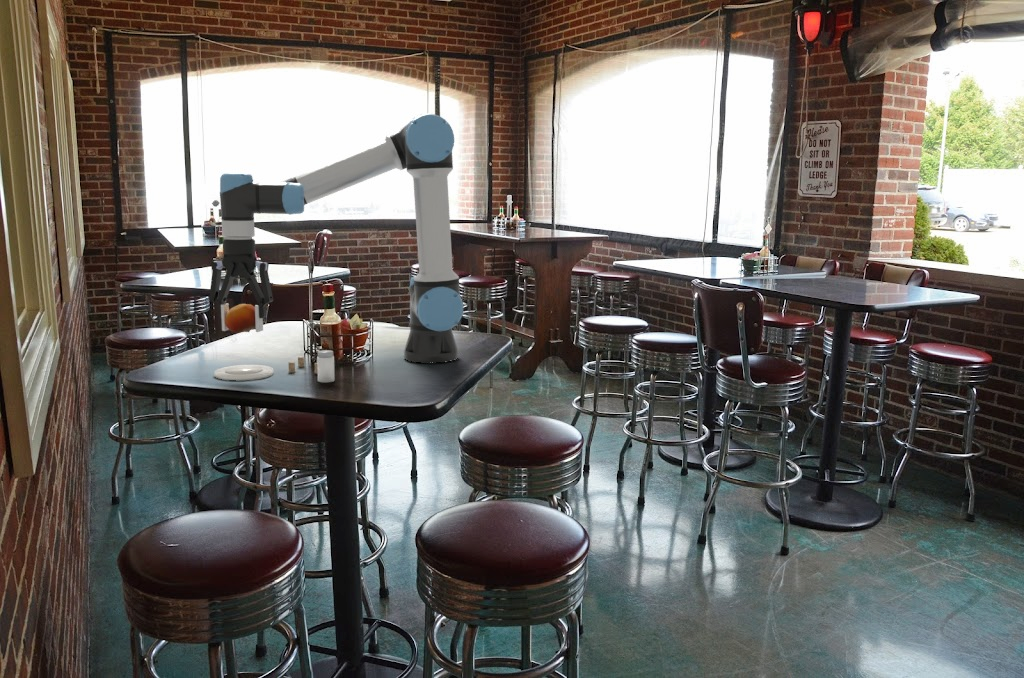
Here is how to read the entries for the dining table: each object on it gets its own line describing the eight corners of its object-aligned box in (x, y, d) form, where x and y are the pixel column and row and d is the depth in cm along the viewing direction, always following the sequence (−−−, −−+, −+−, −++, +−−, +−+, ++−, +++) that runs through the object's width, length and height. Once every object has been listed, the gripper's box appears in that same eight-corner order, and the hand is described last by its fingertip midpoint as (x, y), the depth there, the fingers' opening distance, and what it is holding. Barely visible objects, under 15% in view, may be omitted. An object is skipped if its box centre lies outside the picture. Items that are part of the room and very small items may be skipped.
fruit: (256, 329, 196) (239, 300, 195) (231, 344, 198) (214, 316, 197) (272, 324, 204) (256, 296, 203) (248, 338, 206) (232, 311, 205)
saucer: (281, 369, 209) (281, 364, 209) (260, 381, 196) (259, 376, 195) (229, 367, 210) (229, 362, 210) (204, 379, 197) (204, 373, 197)
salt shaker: (336, 379, 200) (336, 350, 199) (331, 382, 196) (330, 353, 195) (320, 378, 200) (320, 349, 199) (315, 382, 196) (314, 352, 195)
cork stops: (330, 367, 213) (330, 357, 213) (320, 373, 205) (319, 364, 205) (299, 365, 214) (299, 356, 214) (287, 372, 206) (287, 363, 205)
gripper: (285, 238, 200) (288, 329, 204) (204, 236, 202) (209, 326, 206) (274, 239, 192) (277, 334, 196) (190, 238, 194) (195, 331, 198)
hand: (242, 330), depth 201 cm, fingers closed on fruit, 8 cm apart
